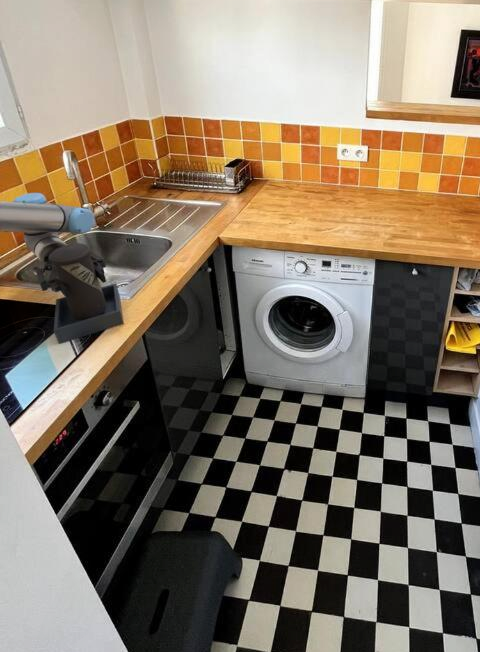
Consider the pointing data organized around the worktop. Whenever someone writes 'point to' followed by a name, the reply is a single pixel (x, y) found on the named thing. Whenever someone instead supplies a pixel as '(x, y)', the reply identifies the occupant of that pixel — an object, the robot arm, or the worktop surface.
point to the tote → (74, 328)
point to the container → (79, 280)
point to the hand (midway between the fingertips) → (85, 285)
